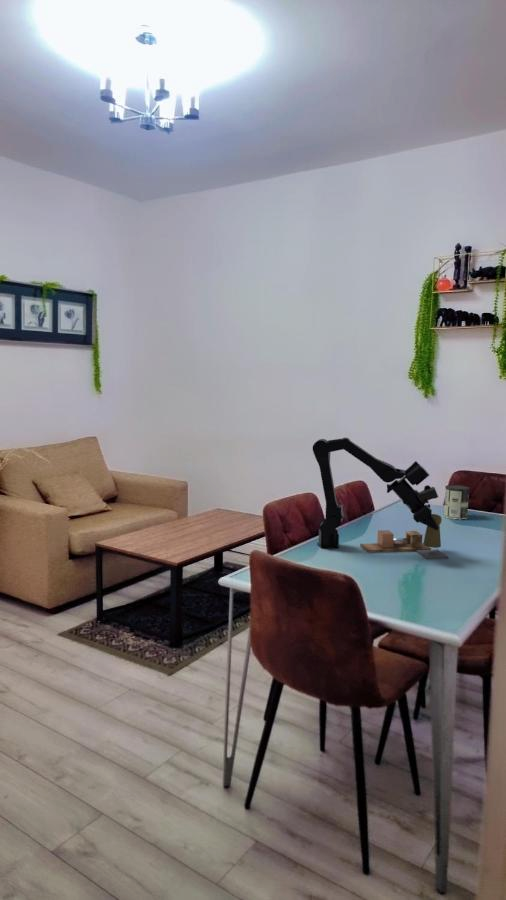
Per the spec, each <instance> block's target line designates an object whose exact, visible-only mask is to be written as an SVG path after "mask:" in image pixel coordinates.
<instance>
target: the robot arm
mask: <svg viewBox="0 0 506 900" xmlns="http://www.w3.org/2000/svg"><path fill="white" fill-rule="evenodd" d="M341 450H344V451H345V452H347V453H348V454H350V455H351V456H353V457H355V459H357V460H358V461H360V462H361V463H363V464H364V465H366V466H367V467H369V468H370V469H371V470H372V471H373V472H374V474H376V475H377V477H379V479H380V480H381V481H382V482H384V483H387V484H386V493H387V494H388V493H390V492H394V494H395V495H397V497H398V498H399V499H400V500H401V501H402V503H403V504H404V505H405V506H406V507H407V508H408V510H410V512H411V513H412V517H413V520H414V521H415V522H416V523H418V524H419V523H420V524H422V525H425V526H426V527H427V526H429V527H431V528H433V529H435V530H438V529H439V527H438V526H437V524H436V522H435V521H434V519H433V518H432V516H431V514H433V513H432V512H433V510H432V508H431V505H430V503H429V501H430V500H434V499H437V498H439V495H438V493H437V490H436V487H434V486H430V485H424V487H423V489H422V491H418V490H417V489H414V488H413V486H415V485H416V486H419V484H421V483H422V482H424V481H425V480H426V479H428V478H429V476H430V474H429V473H428V471H427V470H426V469H425V467H424V466H422V465H421V464H419V462H418V461H417V460H415V461H414V462H413V463H411V465H410V466H409V467H407V468H406V469H401V468H397V467H395V466H394V465H392V464H391V463H388V462H386V461H384V460H382V459H378V458H376V457H375V456H374V455H372V454H371V453H369V452H368V451H367V450H365V449H363V448H362V447H360V446H359V445H358V444H356V443H354V442H353V441H352V440H351V439H350V438H349V437H342V438H335V439H329V440H327V439H325V438H320V439H318V440H316V441H315V442H314V443H313V445H312V453H313V455H314V458H315V460H316V462H317V464H318V466H319V471H320V476H321V477H320V478H321V483H322V488H323V494H324V499H325V518H324V519H323V520H322V521H321V523H320V525H319V526H318V527H319V529H318V542H317V543H316V544H317V546H318V547H319V548H321V549H322V548H323V550H324V549H325V550H326V549H339V547H340V546H339V545H340V544H339V542H340V539H339V538H340V534H339V533H338V529H337V528H339V527H340V526H341V525H342V522H343V519H344V516H346V515H345V513H344V505H343V504H339V503H338V500H337V495H336V489H335V484H334V483H335V482H334V480H333V479H334V478H333V473H332V467H331V453H333V452H337V451H341ZM389 483H390V484H389ZM411 485H412V486H411Z"/></svg>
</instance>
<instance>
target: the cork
mask: <svg viewBox="0 0 506 900" xmlns="http://www.w3.org/2000/svg"><path fill="white" fill-rule="evenodd" d="M431 516H432V518H433V519H434V521H435V522H436V524H437V526H438V527H439V529H438V530H435V529H433V528H431V527H429V526H427V525H426V530H425V534H424V539H423V542H422V543H423V545H424V546H427V547H430V548H431V549H432V548H433V549H434V548H437V549H438V548H441V547H442V544H441V542H442V541H441V527H440V525H441V524H442V516H441V515H440V514H436V513H431Z"/></svg>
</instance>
